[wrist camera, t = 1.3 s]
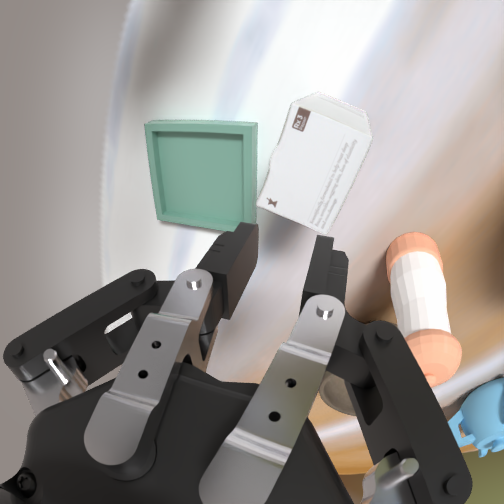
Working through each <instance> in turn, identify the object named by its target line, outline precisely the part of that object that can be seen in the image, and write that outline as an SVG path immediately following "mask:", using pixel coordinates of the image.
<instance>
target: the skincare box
mask: <svg viewBox="0 0 504 504" xmlns="http://www.w3.org/2000/svg"><path fill="white" fill-rule="evenodd" d="M372 141H373V136H372V132H371V129H370V124H369V119H368V115H367V112H365V111H363V110H361V109H359V108H357V107H354V106H352V105H350V104H347V103H345V102H343V101H341V100H338V99H336V98H333V97H331V96H328V95H326V94H323V93H321V92H316V93H313V94H311V95H309V96H306V97H304V98H302V99H299V100H297V101H294V102H292V103H291V105H290V108H289V112H288V115H287V118H286V121H285V124H284V127H283V130H282V133H281V136H280V139H279V142H278V145H277V147H276V148H275V150H274V151H273V153H272V155H271V158H270V163H269V167H270V168H269V171H268V174H267V177H266V179H265V182H264V185H263V188H262V190H261V192H260V195H259V197H258V199H257V201H256V206H257V207H260V208H263V209H265V210H268V211H270V212H272V213H275V214H277V215H279V216H282V217H284V218H287V219H289V220H292V221H294V222H297V223H299V224H302V225H304V226H306V227H308V228H310V229H312V230H315V231H317V232H319V233H321V234H324V235H327V234H328V232H329V231H330V229H331V227H332V225H333V223H334V221H335V219H336V218H337V216H338V214H339V212H340V210H341V208H342V206H343V204H344V202H345V200H346V198H347V196H348V194H349V192H350V190H351V188H352V186H353V184H354V181H355V179H356V177H357V175H358V173H359V171H360V168H361V166H362V164H363V162H364V160H365V158H366V155H367V153H368V151H369V148H370V146H371V143H372Z"/></svg>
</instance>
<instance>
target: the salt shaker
mask: <svg viewBox="0 0 504 504" xmlns="http://www.w3.org/2000/svg"><path fill="white" fill-rule="evenodd" d="M386 266H387V276H388V281H389V282H390V284H391V298H392V302H393V306H394V310H395V314H396V317H397V324H398V329H399V330H400V332H401V333H402V335H403V337H404V339H405V340H406V342H407V344H408V346H409V348H410V349H411V351H412V353H413V355H414V357H415V359H416V360H417V362H418V364H419V366H420V368H421V370H422V372H423V374H424V375H425V377H426V379H427V381H428V383H429V385H430V387H434V386H437V385H440V384H442V383H444V382H446V381H447V380H449V379H450V378H451V377H452V376H453V375H454V374H455V372H456V370H457V369H458V367H459V365H460V362H461V355H462V348H461V346H460V343H459V342H458V340H457V339H456V338H455V337H454V336H453V335H452V334H451V331H450V325H449V320H448V314H447V309H446V283H445V280H444V277H443V273H442V272H443V263H442V260H441V256H440V253H439V250H438V247H437V245H436V243H435V241H434V240H433V239H431V238H430V237H429V236H427V235H425V234H423V233H416V232H412V233H407V234H403V235H401V236H400V237H398V238H396V239H395V240H394V241H393V242H392V243H391V244H390V246H389V248H388V250H387V254H386Z"/></svg>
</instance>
